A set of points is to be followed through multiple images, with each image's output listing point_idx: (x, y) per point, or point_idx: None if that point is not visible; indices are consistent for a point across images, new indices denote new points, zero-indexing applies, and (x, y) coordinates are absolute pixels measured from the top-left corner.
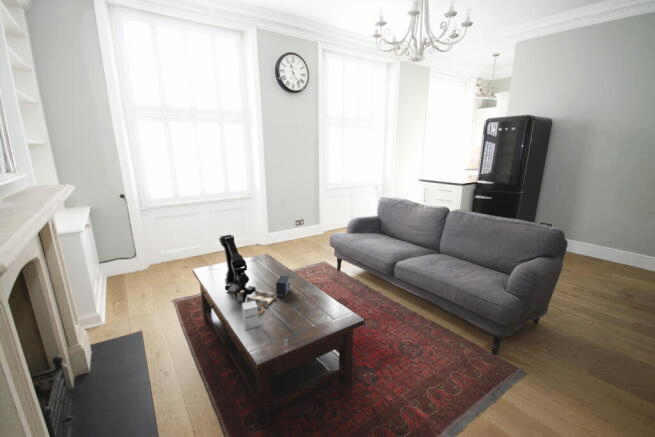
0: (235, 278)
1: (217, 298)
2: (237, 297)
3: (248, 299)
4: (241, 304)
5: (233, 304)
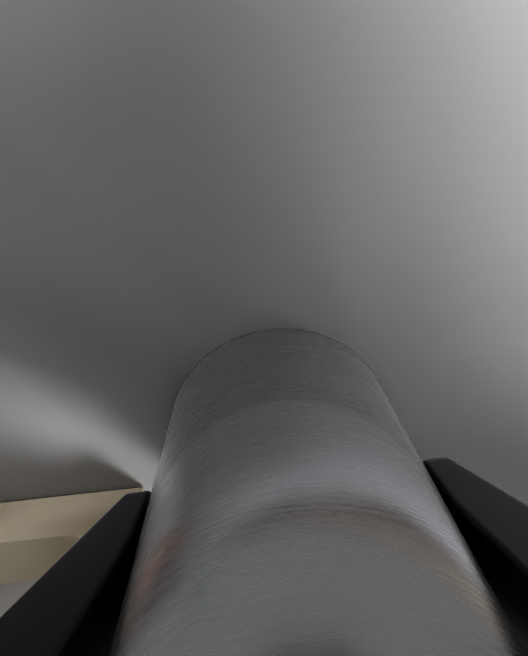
0: None
1: None
2: (419, 531)
3: None
4: (202, 369)
5: (486, 286)
